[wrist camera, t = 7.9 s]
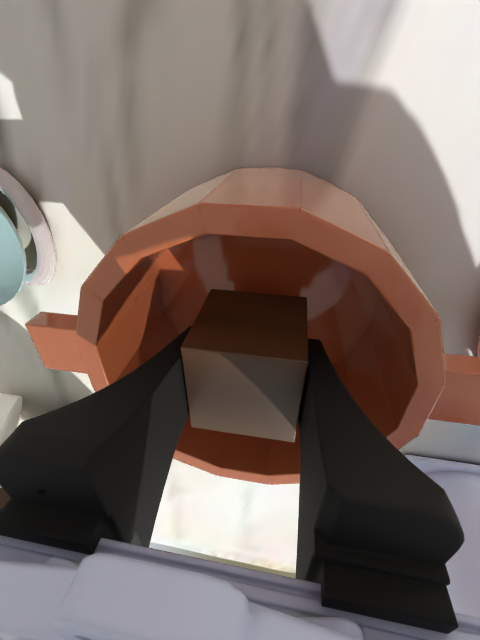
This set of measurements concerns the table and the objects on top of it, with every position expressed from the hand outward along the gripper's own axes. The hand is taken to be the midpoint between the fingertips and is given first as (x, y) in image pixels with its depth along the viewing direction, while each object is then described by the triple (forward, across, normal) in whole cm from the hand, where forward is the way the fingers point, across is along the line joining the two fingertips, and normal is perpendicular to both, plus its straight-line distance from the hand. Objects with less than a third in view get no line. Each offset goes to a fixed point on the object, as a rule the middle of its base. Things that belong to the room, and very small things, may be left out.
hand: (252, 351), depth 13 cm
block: (+1, 0, 0) cm, 1 cm away
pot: (+4, 0, 0) cm, 4 cm away
